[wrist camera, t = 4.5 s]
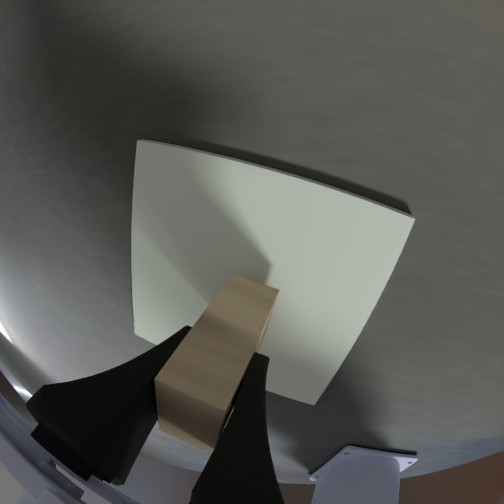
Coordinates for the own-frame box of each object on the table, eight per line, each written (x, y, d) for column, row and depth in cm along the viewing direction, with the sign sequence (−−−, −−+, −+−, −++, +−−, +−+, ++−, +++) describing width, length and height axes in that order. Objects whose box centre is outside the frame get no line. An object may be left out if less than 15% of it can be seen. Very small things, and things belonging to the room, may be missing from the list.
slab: (261, 346, 16) (214, 454, 10) (219, 331, 16) (158, 429, 10) (280, 290, 14) (227, 411, 8) (231, 273, 14) (153, 377, 8)
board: (315, 399, 18) (313, 405, 18) (139, 329, 21) (135, 334, 20) (412, 215, 12) (415, 219, 11) (144, 139, 14) (137, 140, 14)
